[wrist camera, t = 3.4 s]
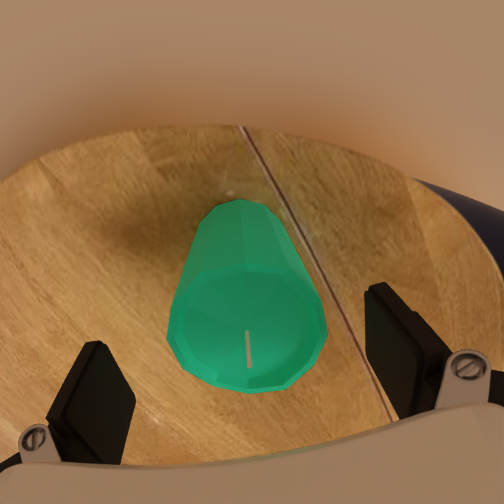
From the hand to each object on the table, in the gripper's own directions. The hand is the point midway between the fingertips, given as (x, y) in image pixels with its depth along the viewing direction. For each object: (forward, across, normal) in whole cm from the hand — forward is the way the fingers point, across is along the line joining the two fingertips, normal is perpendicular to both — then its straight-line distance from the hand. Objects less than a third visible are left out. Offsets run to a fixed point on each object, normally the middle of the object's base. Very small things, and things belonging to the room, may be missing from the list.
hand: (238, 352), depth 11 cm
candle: (+12, 0, 0) cm, 12 cm away
